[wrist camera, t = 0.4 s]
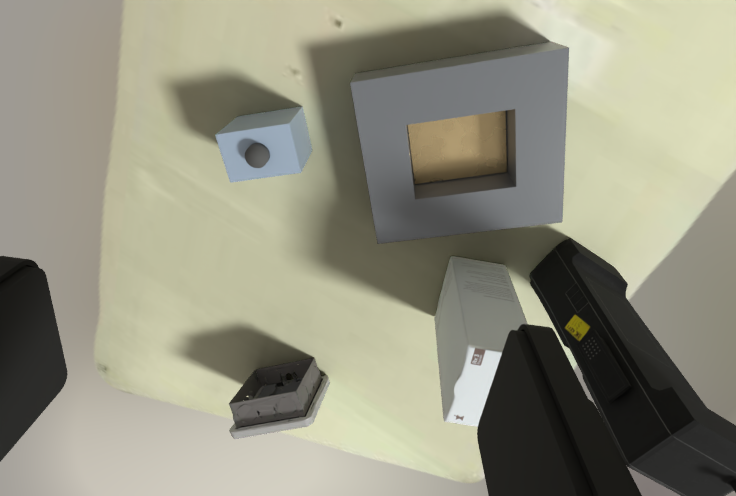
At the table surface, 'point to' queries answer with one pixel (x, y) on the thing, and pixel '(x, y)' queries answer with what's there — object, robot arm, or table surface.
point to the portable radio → (634, 377)
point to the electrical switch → (278, 399)
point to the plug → (265, 144)
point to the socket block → (465, 142)
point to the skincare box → (472, 334)
